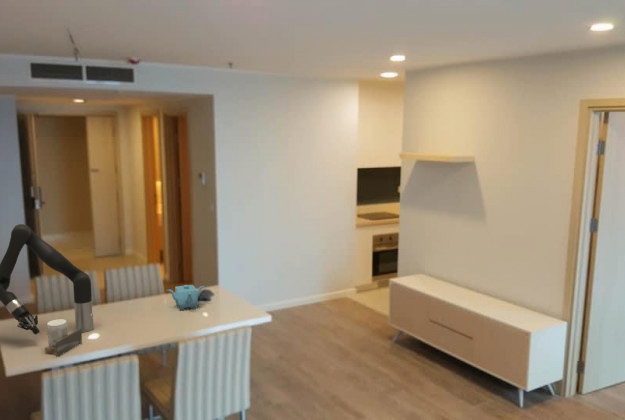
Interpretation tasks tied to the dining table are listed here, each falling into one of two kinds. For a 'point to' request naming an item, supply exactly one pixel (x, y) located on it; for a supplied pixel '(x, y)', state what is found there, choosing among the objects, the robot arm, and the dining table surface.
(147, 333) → the dining table surface
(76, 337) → the walnut dock
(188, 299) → the teakettle
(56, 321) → the supplement tub
